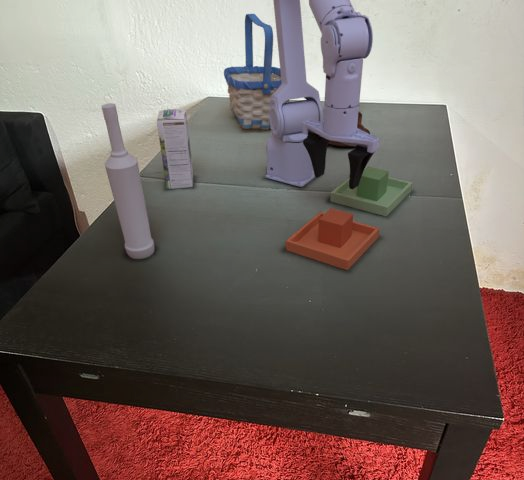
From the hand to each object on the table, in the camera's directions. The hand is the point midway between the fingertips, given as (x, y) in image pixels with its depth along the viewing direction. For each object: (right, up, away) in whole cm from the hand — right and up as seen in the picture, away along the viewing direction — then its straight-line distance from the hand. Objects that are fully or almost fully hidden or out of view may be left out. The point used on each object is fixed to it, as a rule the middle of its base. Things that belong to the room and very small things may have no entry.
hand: (336, 181), depth 96 cm
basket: (-14, +30, +44) cm, 55 cm away
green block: (+9, +1, +11) cm, 14 cm away
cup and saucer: (+7, +20, +33) cm, 39 cm away
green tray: (+9, 0, +11) cm, 14 cm away
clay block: (0, -11, -1) cm, 11 cm away
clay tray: (-1, -12, -2) cm, 12 cm away
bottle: (-35, -13, -1) cm, 38 cm away
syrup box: (-31, +5, +19) cm, 37 cm away
